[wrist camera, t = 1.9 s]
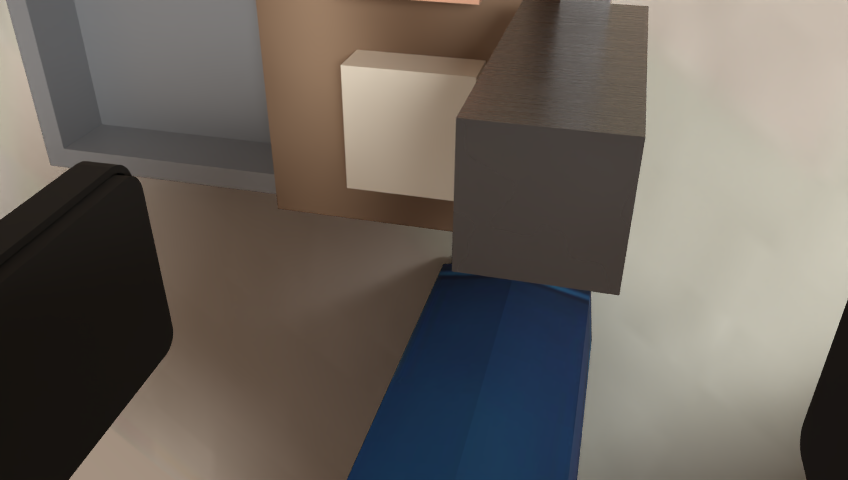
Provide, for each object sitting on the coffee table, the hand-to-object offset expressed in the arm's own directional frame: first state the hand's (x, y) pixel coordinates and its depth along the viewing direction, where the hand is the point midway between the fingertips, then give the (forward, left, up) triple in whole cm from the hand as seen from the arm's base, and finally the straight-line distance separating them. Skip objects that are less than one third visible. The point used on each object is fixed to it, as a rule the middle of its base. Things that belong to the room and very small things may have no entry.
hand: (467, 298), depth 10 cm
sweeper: (-1, 0, -14) cm, 14 cm away
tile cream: (+4, +3, -14) cm, 15 cm away
